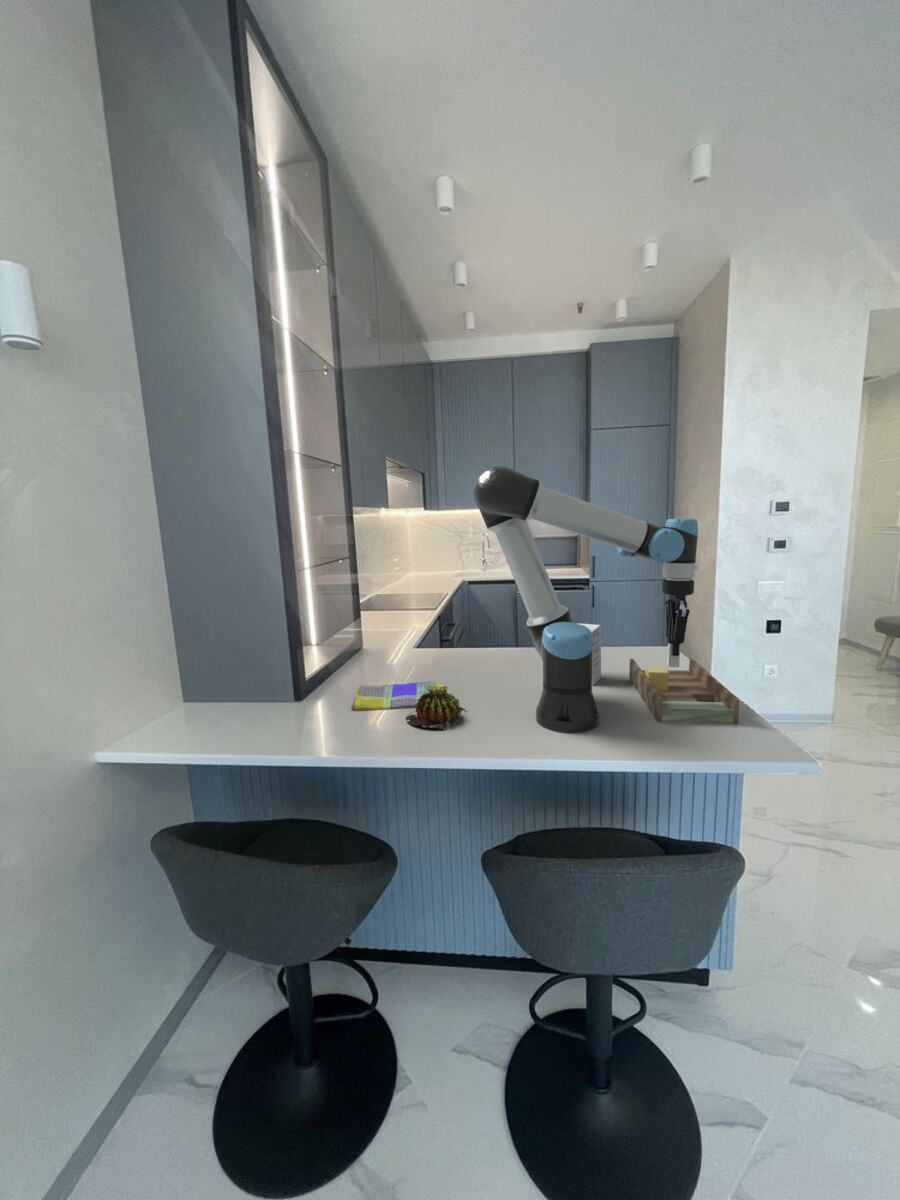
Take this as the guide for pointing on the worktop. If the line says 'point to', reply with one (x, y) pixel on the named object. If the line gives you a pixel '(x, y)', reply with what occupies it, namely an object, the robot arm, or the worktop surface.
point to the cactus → (436, 709)
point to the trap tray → (687, 696)
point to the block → (658, 677)
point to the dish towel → (389, 696)
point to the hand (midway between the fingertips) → (672, 666)
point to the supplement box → (595, 651)
